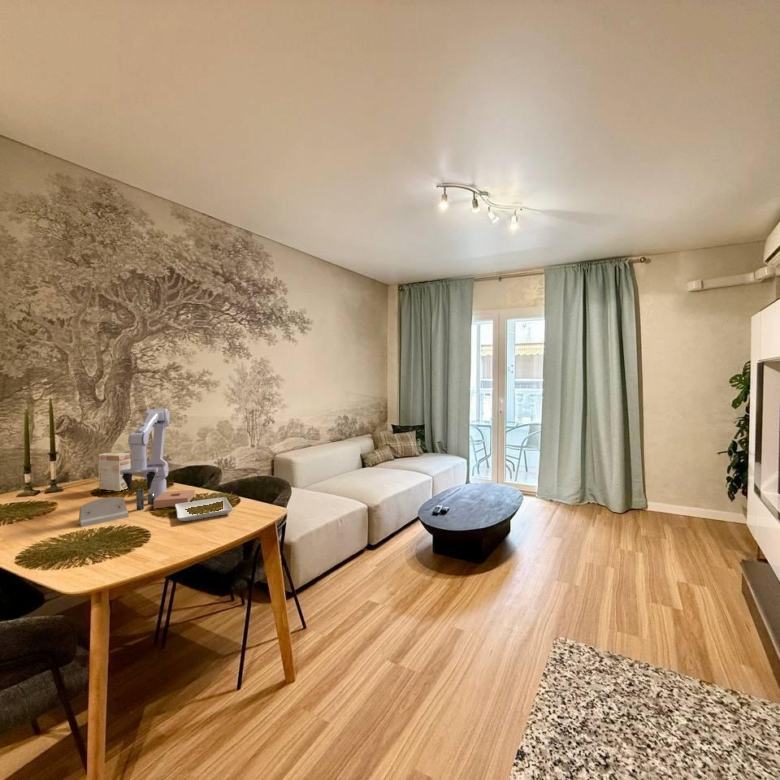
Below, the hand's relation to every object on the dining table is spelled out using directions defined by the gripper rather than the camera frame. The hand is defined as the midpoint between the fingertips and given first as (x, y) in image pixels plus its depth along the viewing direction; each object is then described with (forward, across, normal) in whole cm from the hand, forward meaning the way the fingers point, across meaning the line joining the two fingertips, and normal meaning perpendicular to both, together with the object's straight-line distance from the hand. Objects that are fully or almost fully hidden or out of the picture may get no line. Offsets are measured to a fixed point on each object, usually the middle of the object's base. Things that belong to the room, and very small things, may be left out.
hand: (139, 489), depth 178 cm
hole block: (+9, +13, +5) cm, 17 cm away
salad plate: (+10, +29, -14) cm, 34 cm away
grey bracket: (+10, -10, -11) cm, 18 cm away
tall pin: (+9, 0, 0) cm, 9 cm away
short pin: (+9, +2, +8) cm, 12 cm away
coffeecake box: (+9, -25, +41) cm, 49 cm away
